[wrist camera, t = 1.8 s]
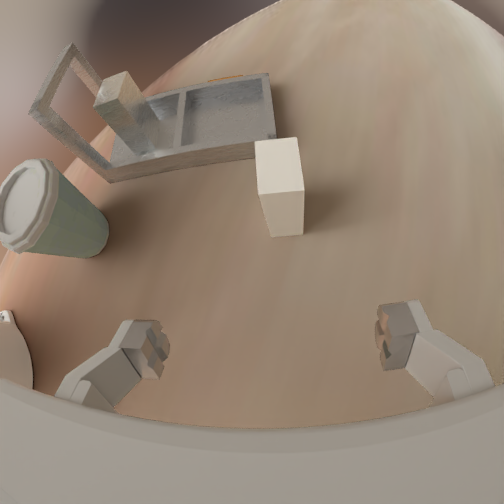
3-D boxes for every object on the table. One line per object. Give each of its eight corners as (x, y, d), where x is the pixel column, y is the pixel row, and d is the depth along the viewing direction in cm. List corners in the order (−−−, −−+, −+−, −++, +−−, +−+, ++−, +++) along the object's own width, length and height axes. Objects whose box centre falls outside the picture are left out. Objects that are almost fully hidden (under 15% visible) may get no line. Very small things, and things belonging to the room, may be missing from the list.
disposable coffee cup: (127, 197, 37) (57, 139, 23) (119, 276, 34) (31, 244, 20) (72, 206, 38) (4, 163, 24) (62, 276, 36) (-18, 251, 21)
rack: (110, 183, 38) (28, 113, 21) (123, 118, 41) (65, 45, 24) (278, 155, 35) (260, 35, 18) (270, 87, 38) (252, -17, 21)
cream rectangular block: (271, 237, 32) (258, 194, 22) (268, 196, 34) (254, 141, 23) (303, 234, 32) (304, 190, 22) (298, 193, 33) (296, 137, 23)
